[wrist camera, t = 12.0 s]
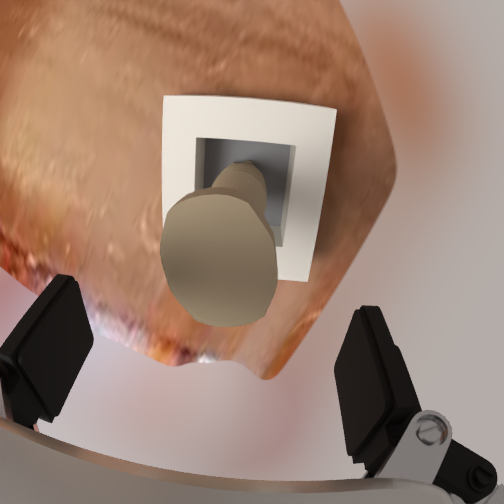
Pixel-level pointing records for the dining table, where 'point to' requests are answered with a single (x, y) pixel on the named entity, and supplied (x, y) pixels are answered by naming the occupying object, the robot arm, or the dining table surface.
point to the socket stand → (254, 161)
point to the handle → (222, 249)
